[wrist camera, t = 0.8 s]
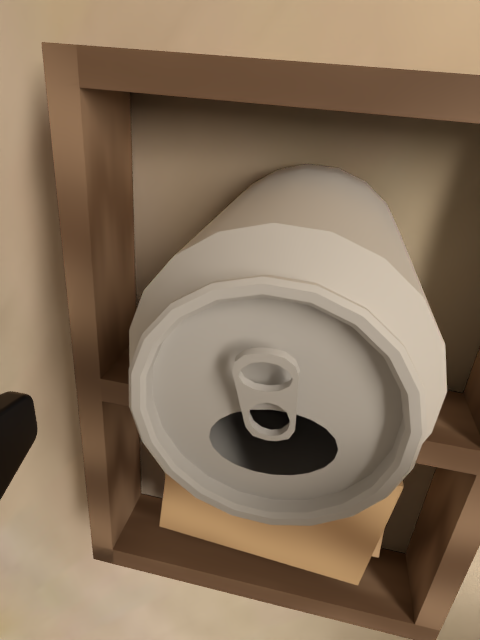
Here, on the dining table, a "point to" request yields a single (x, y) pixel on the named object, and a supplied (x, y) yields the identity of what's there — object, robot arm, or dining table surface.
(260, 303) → the can
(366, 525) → the offcut top
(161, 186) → the dining table surface
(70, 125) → the wooden divided tray
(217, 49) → the dining table surface
